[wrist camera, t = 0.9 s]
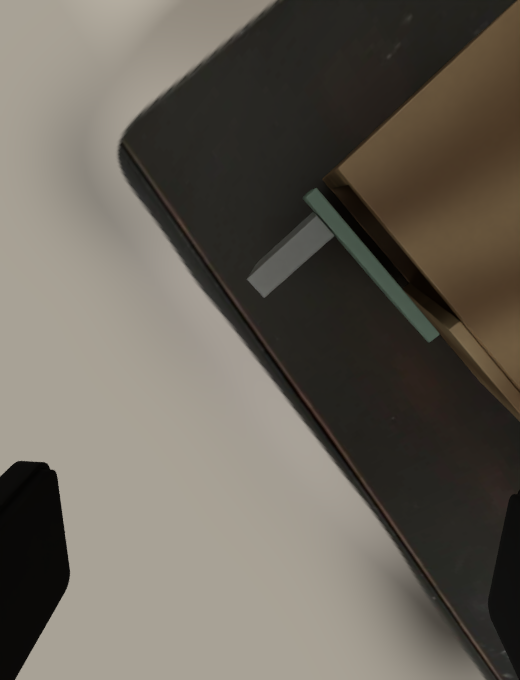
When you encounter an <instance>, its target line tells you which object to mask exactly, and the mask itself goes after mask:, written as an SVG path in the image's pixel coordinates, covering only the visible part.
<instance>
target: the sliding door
mask: <svg viewBox="0 0 520 680" xmlns="http://www.w3.org/2000/svg"><path fill="white" fill-rule="evenodd" d="M303 200H304V201H305V202H306V203H307V204H308V205H309V207H310V208H311V209H312V210H313V211H314V212H315V213H314V212H312V213H311V214H310V215H309V216H308V217H307V218H305V219H304V220H303V221H302V222H301V223H300V224H299V225H298V226H297V227H296V228H295V229H293V230H292V231H291V232H290V233H289V234H288V235H287V236H286V237H285V238H284V239H283V240H281V241H280V242H279V243H278V244H277V245H276V246H275V247H274V248H273V249H272V250H271V251H269V252H268V253H267V254H266V255H265V256H264V257H263V258H262V259H261V260H260V261H259V262H257V263H256V265H255V267H254V268H253V270H252V271H251V273H250V275H249V276H248V278H247V280H248V281H249V282H250V283H251V284H252V285H253V286H254V288H255V289H256V290H257V291H258V292H259V293H260V294H261V295H262V296H263V297H264V298H265V297H266V296H267V295H268V294H269V293H271V292H272V291H273V290H274V289H275V288H276V287H277V286H279V285H280V284H281V283H282V282H283V281H284V280H285V279H286V278H288V277H289V276H290V275H291V274H292V273H293V272H294V271H295V270H297V269H298V268H299V267H300V266H301V265H302V264H303V263H304V262H306V261H307V260H308V259H309V258H310V257H311V256H312V255H313V254H315V253H316V252H317V251H318V250H319V249H320V248H321V247H323V246H324V245H325V244H326V243H327V242H328V241H329V240H330V239H332V238H333V237H334V236H335V237H336V238H337V239H338V240H339V242H340V243H341V244H342V245H343V246H344V247H345V249H346V250H347V251H348V252H349V253H350V254H351V256H352V257H353V258H354V259H355V260H356V261H357V263H358V264H359V265H360V266H361V267H362V268H363V270H364V271H365V272H366V273H367V274H368V275H369V277H370V278H371V279H372V280H373V281H374V282H375V284H376V285H377V286H378V287H379V288H380V289H381V291H382V292H383V293H384V294H385V295H386V297H387V298H388V299H389V300H390V301H391V302H392V303H393V304H394V305H395V307H396V308H397V309H398V310H399V311H400V312H401V313H402V314H403V315H404V316H405V318H406V319H407V320H408V321H409V322H410V323H411V324H412V325H413V326H414V327H415V328H416V330H417V331H418V332H419V333H420V334H421V335H422V336H423V337H424V338H425V339H426V341H427V342H431V341H432V340H433V339H435V338H436V337H437V336H439V335H440V333H439V332H438V331H437V329H436V328H435V327H434V326H433V325H432V323H431V322H430V321H429V320H428V319H427V318H426V316H425V315H424V314H423V313H422V312H421V310H420V309H419V308H418V307H417V306H416V305H415V303H414V302H413V301H412V300H411V299H410V297H409V296H408V295H407V294H406V293H405V292H404V290H403V289H402V288H401V287H400V286H399V284H398V283H397V282H396V281H395V280H394V279H393V277H392V276H391V275H390V274H389V273H388V271H387V270H386V269H385V268H384V267H383V265H382V264H381V263H380V262H379V261H378V260H377V258H376V257H375V256H374V255H373V254H372V252H371V251H370V250H369V249H368V248H367V247H366V245H365V244H364V243H363V242H362V241H361V239H360V238H359V237H358V236H357V235H356V234H355V232H354V231H353V230H352V229H351V228H350V226H349V225H348V224H347V223H346V222H345V221H344V219H343V218H342V217H341V216H340V215H339V213H338V212H337V211H336V210H335V209H334V208H333V206H332V205H331V204H330V203H329V202H328V200H327V199H326V198H325V197H324V196H323V194H322V193H321V192H320V191H319V190H318V189H317V188H315V189H313V190H311V191H309V192H308V193H307V194H306V195H305V196H304V197H303Z"/></svg>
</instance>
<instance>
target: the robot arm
mask: <svg viewBox="0 0 520 680" xmlns="http://www.w3.org/2000/svg"><path fill="white" fill-rule="evenodd" d="M69 577H70V569H69V561H68V554H67V546H66V539H65V531H64V524H63V516H62V509H61V502H60V494H59V486H58V479H57V474H56V472H55V471H54V470H50V468H49V466H48V464H47V463H45V462H28V461H18V462H16V463H14V464H13V465H12V466H11V467H10V468H9V469H8V470H7V471H6V472H5V473H4V474H3V475H2V476H1V477H0V680H15V679H16V677H17V675H18V673H19V671H20V670H21V668H22V666H23V665H24V663H25V661H26V659H27V657H28V656H29V654H30V652H31V650H32V649H33V647H34V645H35V644H36V642H37V640H38V638H39V636H40V635H41V633H42V631H43V629H44V628H45V626H46V624H47V622H48V621H49V619H50V617H51V615H52V614H53V612H54V610H55V608H56V607H57V605H58V603H59V601H60V600H61V598H62V596H63V594H64V593H65V590H66V589H67V586H68V582H69ZM488 607H489V613H490V617H491V620H492V622H493V624H494V627H495V629H496V631H497V633H498V635H499V637H500V639H501V642H502V644H503V646H504V648H505V650H506V652H507V654H508V657H509V659H510V661H511V663H512V665H513V667H514V669H515V672H516V674H517V676H518V678H519V680H520V490H519V492H518V494H514V495H512V496H511V497H510V499H509V503H508V507H507V512H506V517H505V522H504V527H503V531H502V536H501V541H500V546H499V551H498V555H497V560H496V565H495V570H494V575H493V579H492V584H491V589H490V594H489V599H488Z"/></svg>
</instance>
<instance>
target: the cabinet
mask: <svg viewBox="0 0 520 680" xmlns="http://www.w3.org/2000/svg"><path fill="white" fill-rule="evenodd" d="M322 180H323V181H324V182H325V183H326V185H327V186H328V187H329V188H330V189H331V191H332V192H333V193H334V194H335V195H336V197H337V198H338V199H339V200H340V201H341V203H342V204H343V205H344V206H345V207H346V208H347V210H348V211H349V212H350V213H351V214H352V216H353V217H354V218H355V219H356V220H357V222H358V223H359V224H360V225H361V226H362V228H363V229H364V230H365V231H366V232H367V234H368V235H369V236H370V237H371V238H372V239H373V241H374V242H375V243H376V244H377V245H378V247H379V248H380V249H381V250H382V251H383V253H384V254H385V255H386V256H387V257H388V259H389V260H390V261H391V262H392V263H393V264H394V266H395V267H396V268H397V269H398V270H399V272H400V273H401V274H402V275H403V276H404V278H405V279H406V280H407V281H408V282H409V284H408V285H406V286H405V287H404V288H403V290H404V292H405V293H406V294H407V295H408V296H409V297H410V299H411V300H412V301H413V302H414V303H415V305H416V306H417V307H418V308H419V309H420V310H421V312H422V313H423V314H424V315H425V316H426V318H427V319H428V320H429V321H430V322H431V323H432V325H433V326H434V327H435V328H436V329H437V331H438V332H439V333H440V335H441V336H442V337H443V339H444V340H445V341H446V342H447V343H448V345H449V346H450V347H451V348H452V349H453V350H454V352H455V353H456V354H457V355H458V356H459V358H460V359H461V360H462V361H463V362H464V363H465V365H466V366H467V367H468V368H469V369H470V371H471V372H472V373H473V374H474V375H475V376H476V378H477V379H478V380H479V381H480V382H481V383H482V384H483V385H484V386H485V387H486V388H487V389H488V390H489V391H490V392H491V393H492V394H493V395H494V396H495V397H496V398H497V399H498V400H499V401H500V402H501V403H502V404H503V405H504V406H505V407H506V408H507V409H508V410H509V411H510V412H511V413H512V414H513V415H514V416H515V417H516V418H517V419H518V420H519V421H520V0H516V1H515V2H514V3H513V4H511V5H510V6H509V7H508V8H507V9H506V10H505V11H504V12H503V13H501V14H500V15H499V16H498V17H497V18H496V19H495V20H494V21H493V22H491V23H490V24H489V25H488V26H487V27H486V28H485V29H484V30H483V31H481V32H480V33H479V34H478V35H477V36H476V37H475V38H474V39H472V40H471V41H470V42H469V43H468V44H467V45H466V46H465V47H464V48H462V49H461V50H460V51H459V52H458V53H457V54H456V55H455V56H454V57H452V58H451V59H450V60H449V61H448V62H447V63H446V64H445V65H444V66H443V67H442V68H441V69H439V70H438V71H437V72H436V73H435V74H434V75H433V76H432V77H431V78H430V79H429V80H428V81H427V82H426V83H424V84H423V85H422V86H421V87H420V88H419V89H418V90H417V91H416V92H415V93H414V94H413V95H412V96H411V97H409V98H408V99H407V100H406V101H405V102H404V103H403V104H402V105H401V106H400V107H399V108H398V109H397V110H396V111H394V112H393V113H392V114H391V115H390V116H389V117H388V118H387V119H386V120H385V121H384V122H383V123H382V124H381V125H379V126H378V127H377V128H376V129H375V130H374V131H373V132H372V133H371V134H370V135H369V136H368V137H367V138H366V139H364V140H363V141H362V142H361V143H360V144H359V145H358V146H357V147H356V148H355V149H354V150H353V151H352V152H351V153H349V154H348V155H347V156H346V157H345V158H344V159H343V160H342V161H341V162H340V163H339V164H338V165H337V166H336V167H334V168H333V169H332V170H331V171H330V172H329V173H328V174H327V175H326V176H325V177H324V178H323V179H322Z"/></svg>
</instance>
